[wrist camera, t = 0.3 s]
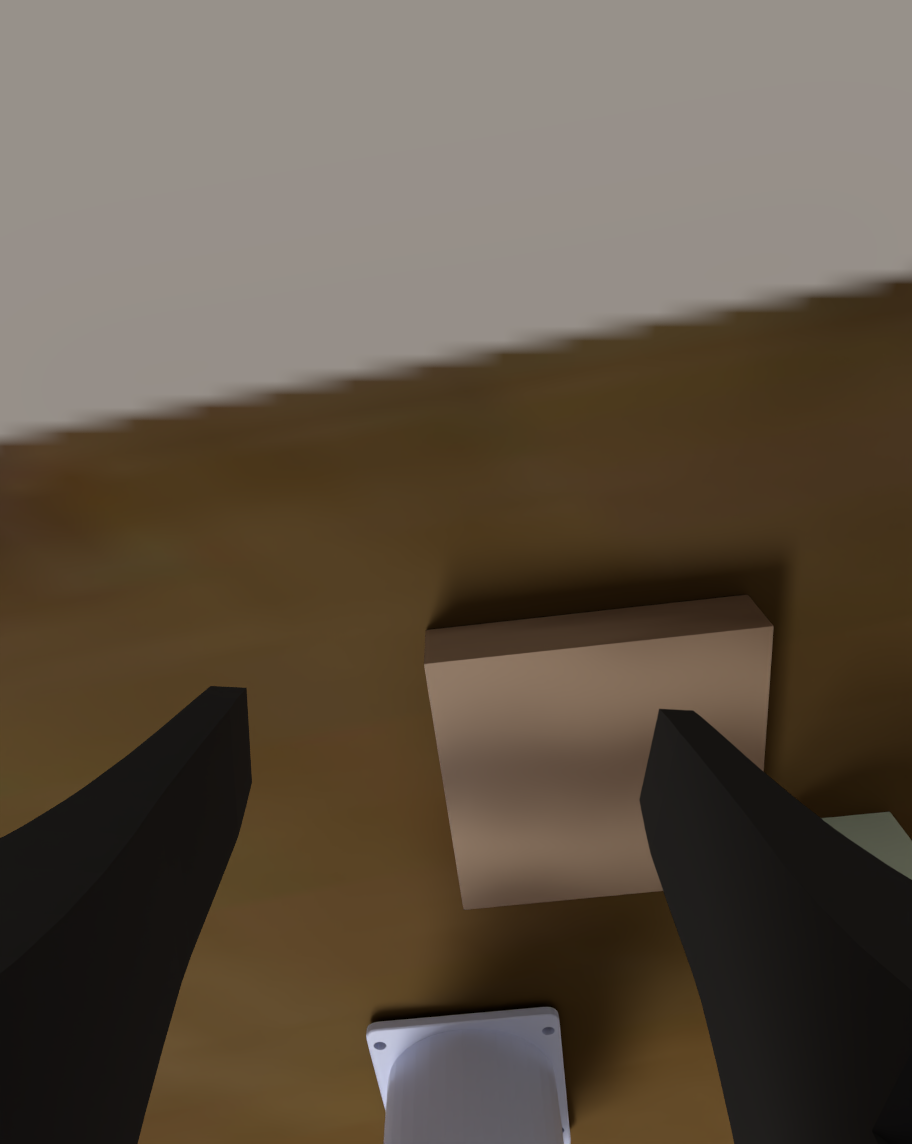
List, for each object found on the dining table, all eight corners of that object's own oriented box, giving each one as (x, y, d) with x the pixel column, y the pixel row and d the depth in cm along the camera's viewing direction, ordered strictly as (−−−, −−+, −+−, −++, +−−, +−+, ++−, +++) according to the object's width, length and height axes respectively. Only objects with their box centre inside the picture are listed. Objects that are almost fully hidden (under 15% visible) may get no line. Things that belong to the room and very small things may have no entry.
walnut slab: (735, 838, 27) (755, 882, 25) (462, 864, 28) (463, 909, 26) (747, 594, 23) (773, 625, 21) (425, 630, 23) (424, 664, 22)
